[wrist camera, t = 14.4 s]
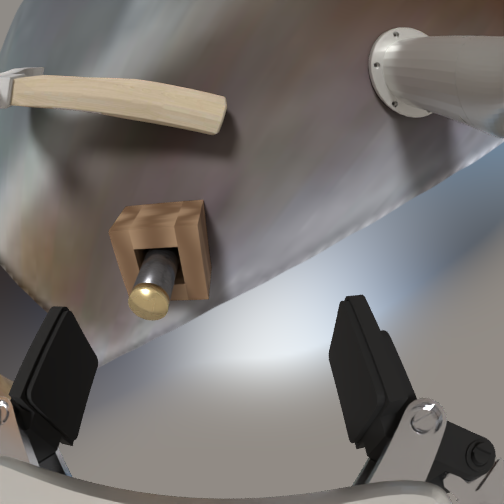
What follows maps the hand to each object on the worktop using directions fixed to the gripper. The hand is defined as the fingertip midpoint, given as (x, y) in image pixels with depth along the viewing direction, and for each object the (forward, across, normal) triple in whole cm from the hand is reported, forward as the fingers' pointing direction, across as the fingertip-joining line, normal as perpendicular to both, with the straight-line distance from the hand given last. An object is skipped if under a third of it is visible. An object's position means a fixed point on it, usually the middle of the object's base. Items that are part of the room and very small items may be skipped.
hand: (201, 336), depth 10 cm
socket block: (+30, +9, +14) cm, 34 cm away
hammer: (+31, +14, -8) cm, 35 cm away
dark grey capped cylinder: (+30, +9, +14) cm, 34 cm away
